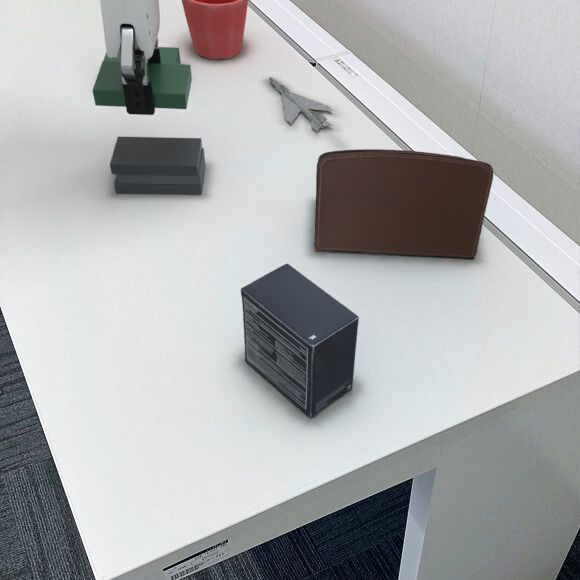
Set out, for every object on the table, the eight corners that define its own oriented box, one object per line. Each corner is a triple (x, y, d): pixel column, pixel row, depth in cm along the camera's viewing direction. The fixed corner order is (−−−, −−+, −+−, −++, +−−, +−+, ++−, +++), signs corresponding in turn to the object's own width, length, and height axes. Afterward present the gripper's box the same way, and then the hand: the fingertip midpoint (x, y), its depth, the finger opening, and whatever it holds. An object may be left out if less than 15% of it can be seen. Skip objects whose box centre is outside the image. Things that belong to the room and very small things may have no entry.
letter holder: (475, 260, 94) (498, 161, 84) (313, 252, 93) (316, 152, 83) (467, 210, 101) (487, 113, 91) (316, 202, 100) (319, 104, 90)
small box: (357, 387, 79) (363, 315, 72) (310, 421, 76) (312, 349, 68) (289, 332, 84) (288, 259, 77) (242, 361, 81) (237, 288, 73)
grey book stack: (115, 194, 99) (109, 164, 96) (123, 165, 104) (117, 136, 100) (201, 195, 100) (198, 166, 97) (205, 166, 104) (202, 137, 101)
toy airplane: (290, 75, 123) (290, 61, 121) (363, 139, 111) (364, 125, 109) (247, 86, 119) (247, 72, 118) (317, 153, 108) (318, 139, 106)
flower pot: (251, 34, 131) (248, -25, 124) (250, 65, 124) (247, 5, 117) (188, 33, 130) (182, -27, 123) (183, 64, 123) (176, 3, 116)
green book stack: (102, 89, 117) (98, 69, 114) (110, 64, 122) (107, 45, 119) (176, 90, 117) (173, 71, 115) (181, 66, 123) (179, 47, 120)
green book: (95, 105, 90) (92, 90, 88) (105, 75, 95) (102, 60, 93) (186, 109, 91) (185, 93, 89) (191, 79, 95) (190, 64, 94)
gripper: (101, -93, 85) (124, 60, 99) (71, -29, 74) (101, 134, 87) (170, -88, 86) (184, 62, 99) (150, -25, 74) (169, 137, 87)
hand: (145, 95), depth 93 cm, fingers closed on green book, 7 cm apart
